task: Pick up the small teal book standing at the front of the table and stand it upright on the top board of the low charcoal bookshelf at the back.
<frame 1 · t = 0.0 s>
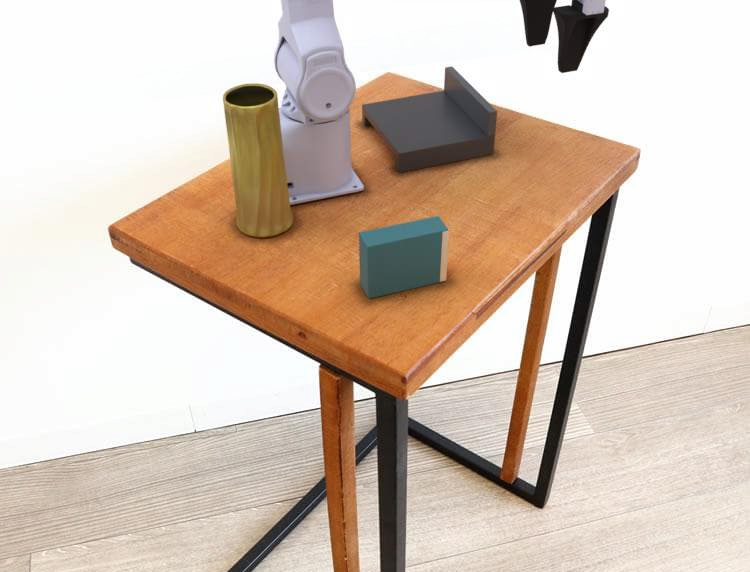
hand: (551, 57, 96), 10 cm above the table, tool pointing down, fingers open, 7 cm apart
shelf: (425, 138, 103), on the table
vase: (265, 223, 90), on the table
book: (402, 282, 82), on the table
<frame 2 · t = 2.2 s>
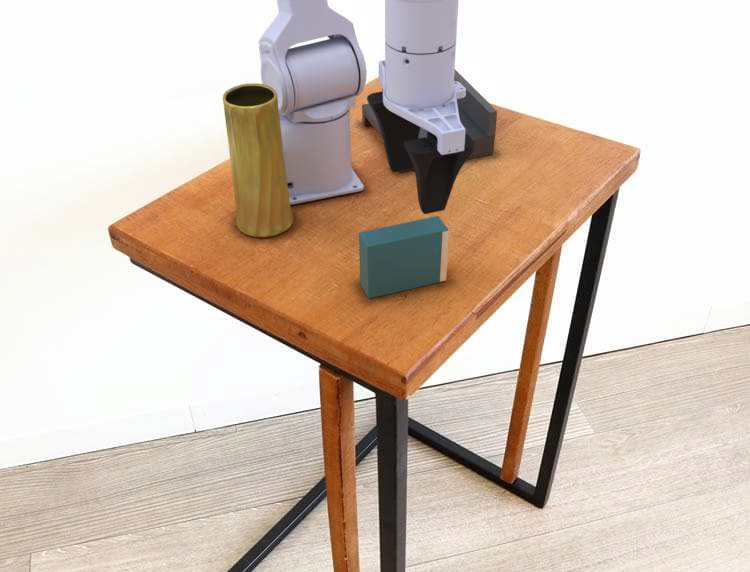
hand: (416, 188, 77), 9 cm above the table, tool pointing down, fingers open, 7 cm apart
nothing on the table moved.
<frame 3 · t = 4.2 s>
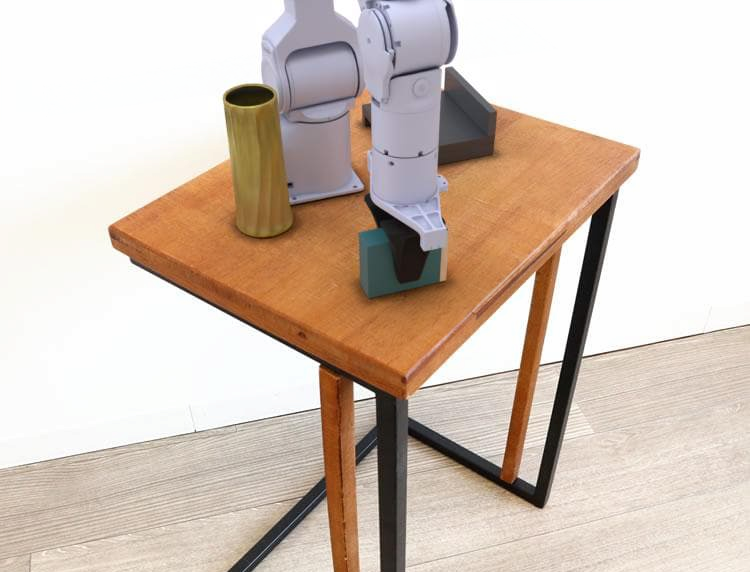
hand: (403, 271, 81), 1 cm above the table, tool pointing down, fingers closed on book, 2 cm apart
book: (402, 282, 82), on the table, touching gripper
everything else where it was.
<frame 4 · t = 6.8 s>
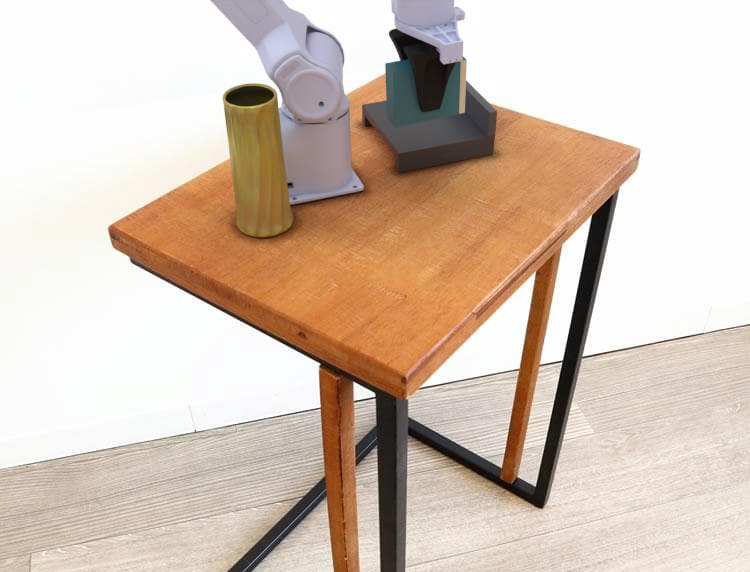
hand: (425, 103, 90), 9 cm above the table, tool pointing down, fingers closed on book, 2 cm apart
book: (425, 115, 91), point 8 cm above the table, touching gripper
everything else where it was.
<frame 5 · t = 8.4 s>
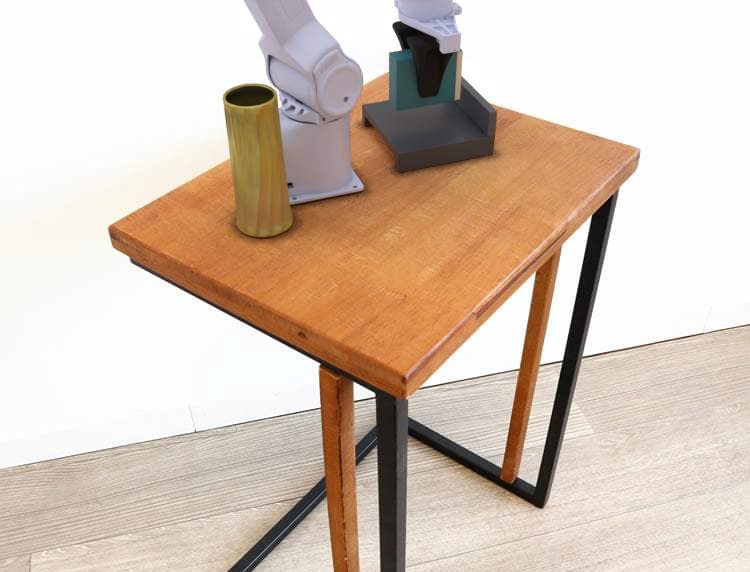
hand: (423, 90, 98), 6 cm above the table, tool pointing down, fingers closed on book, 2 cm apart
book: (424, 101, 99), point 5 cm above the table, touching gripper
everything else where it was.
when the fingers open (4 cm above the table, at t = 9.4 s): book stays where it is, resting on shelf.
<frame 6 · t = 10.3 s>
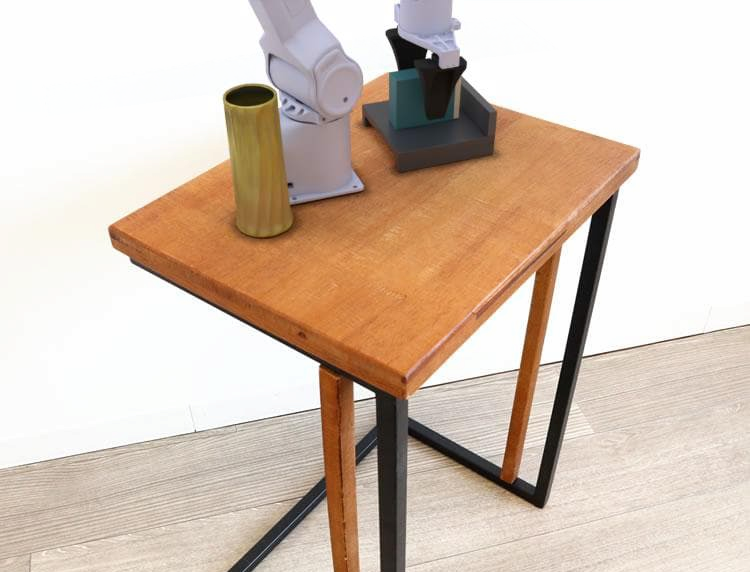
hand: (423, 103, 100), 5 cm above the table, tool pointing down, fingers open, 7 cm apart
book: (423, 119, 101), point 2 cm above the table, touching shelf
everything else where it was.
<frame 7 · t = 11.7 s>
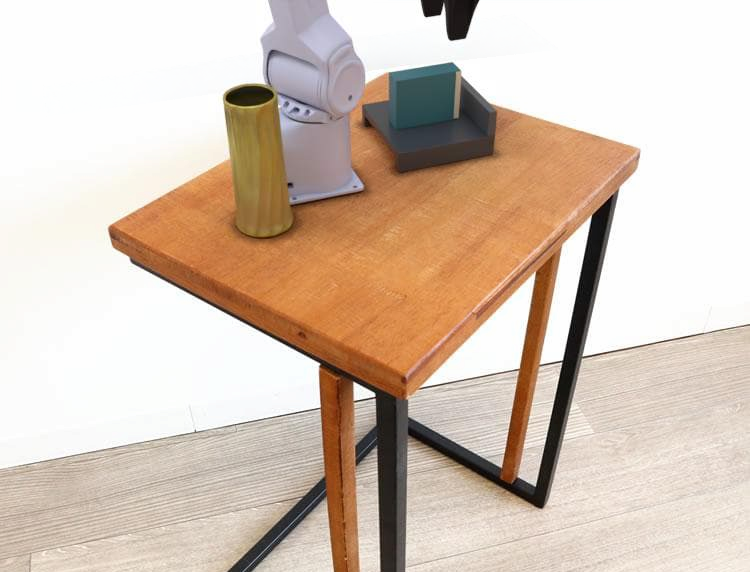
hand: (444, 26, 101), 10 cm above the table, tool pointing down, fingers open, 7 cm apart
nothing on the table moved.
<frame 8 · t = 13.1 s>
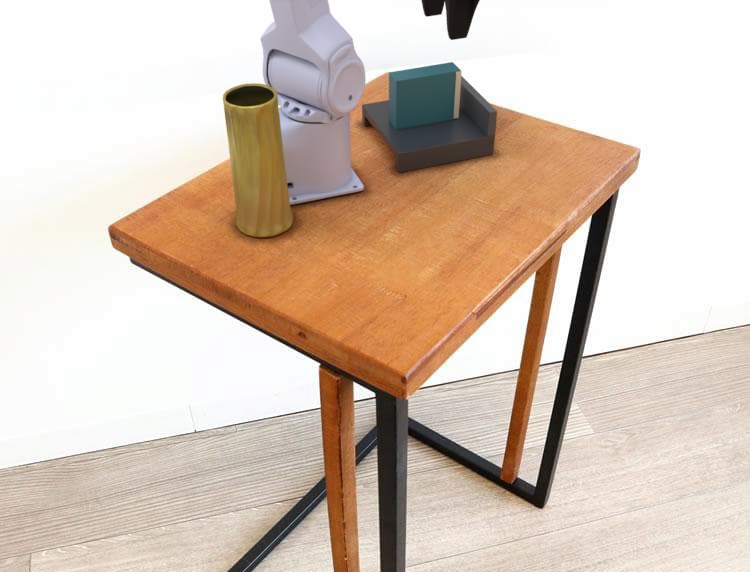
hand: (445, 26, 102), 10 cm above the table, tool pointing down, fingers open, 7 cm apart
nothing on the table moved.
at the end: book inside the target area on the shelf (0.1 cm from its centre), point 2.5 cm above the shelf's base; book tilted 0°; the gripper is holding nothing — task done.
